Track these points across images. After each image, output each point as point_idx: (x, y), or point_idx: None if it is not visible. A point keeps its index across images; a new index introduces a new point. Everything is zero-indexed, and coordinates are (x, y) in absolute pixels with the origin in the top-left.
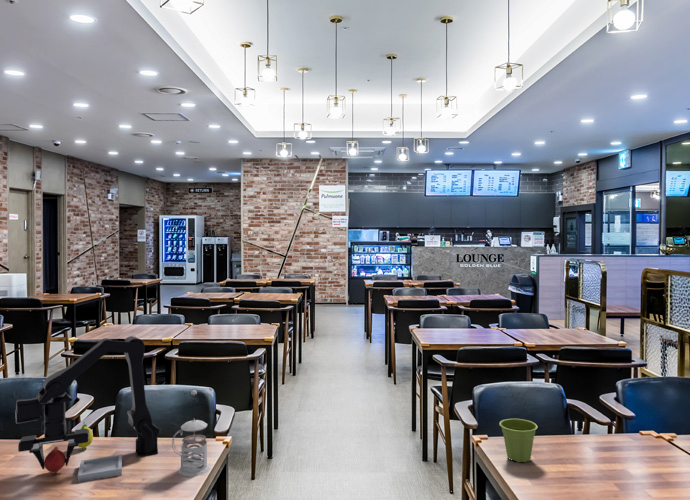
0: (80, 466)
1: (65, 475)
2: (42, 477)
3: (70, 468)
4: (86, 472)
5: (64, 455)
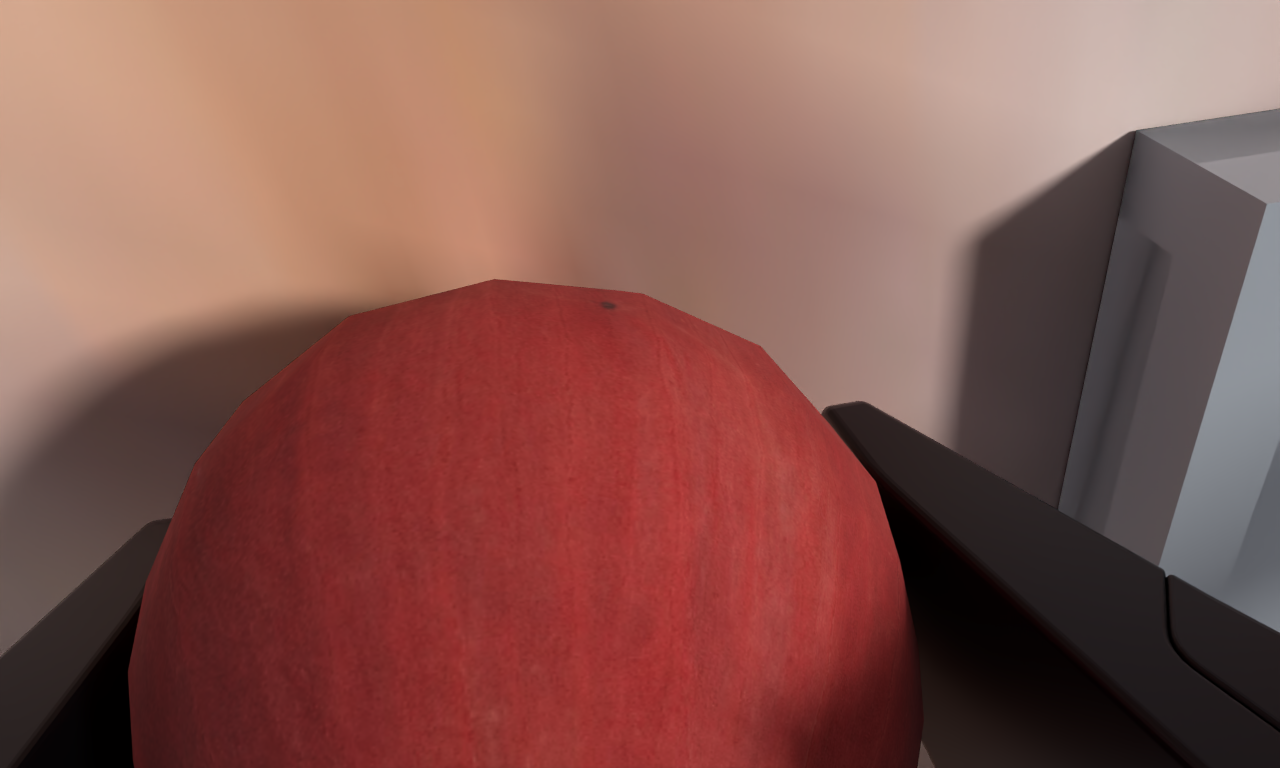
0: None
1: None
2: None
3: (866, 169)
4: None
5: (913, 748)
